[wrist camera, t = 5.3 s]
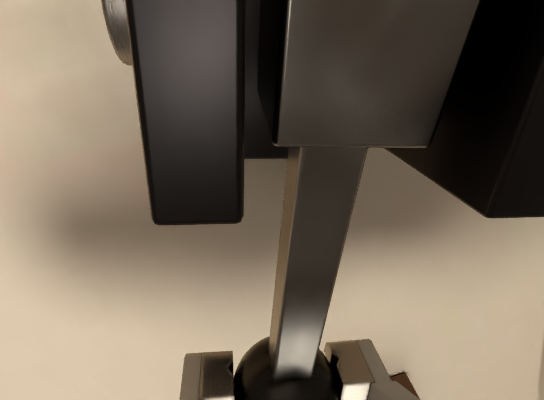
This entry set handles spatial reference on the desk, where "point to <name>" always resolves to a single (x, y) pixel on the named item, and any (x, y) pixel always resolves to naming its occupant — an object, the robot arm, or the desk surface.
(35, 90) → the desk surface
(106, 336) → the desk surface
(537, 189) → the black lever stand
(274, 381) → the ball knob lever
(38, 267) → the desk surface
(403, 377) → the panel
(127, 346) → the desk surface
